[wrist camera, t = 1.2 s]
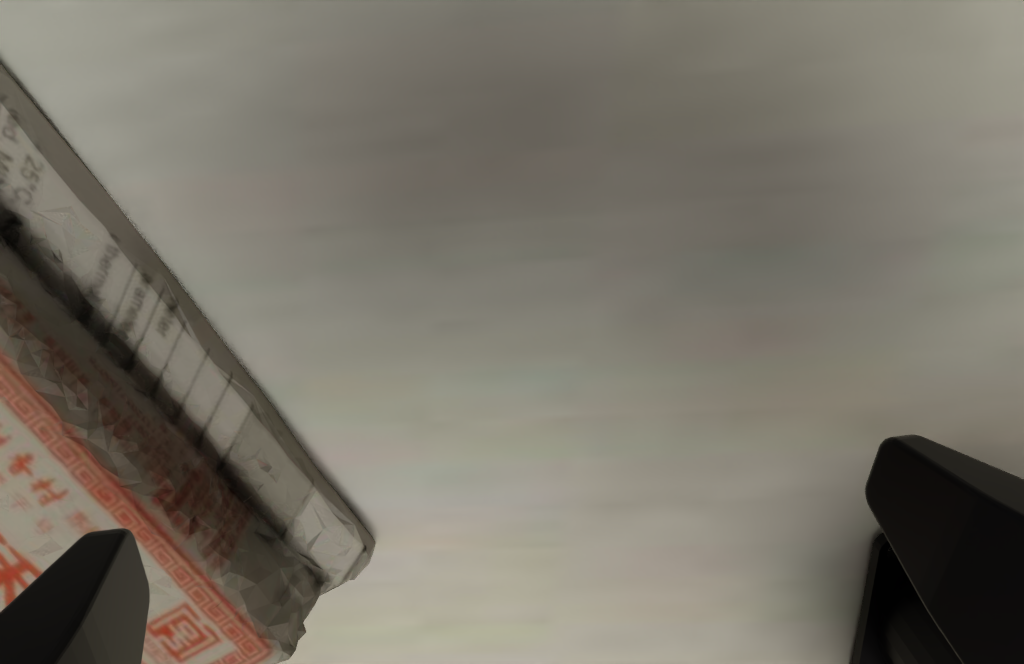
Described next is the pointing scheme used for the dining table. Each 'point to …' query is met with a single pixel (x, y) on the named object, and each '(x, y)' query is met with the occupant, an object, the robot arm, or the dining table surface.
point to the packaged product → (145, 425)
